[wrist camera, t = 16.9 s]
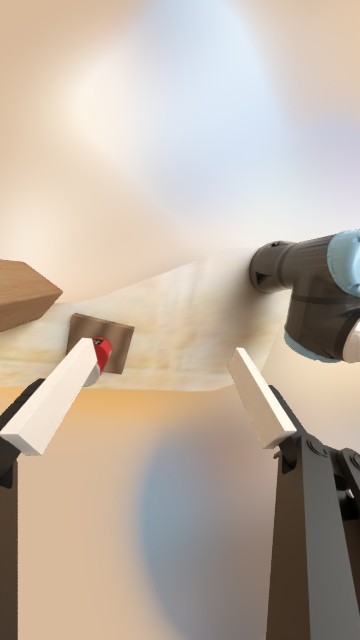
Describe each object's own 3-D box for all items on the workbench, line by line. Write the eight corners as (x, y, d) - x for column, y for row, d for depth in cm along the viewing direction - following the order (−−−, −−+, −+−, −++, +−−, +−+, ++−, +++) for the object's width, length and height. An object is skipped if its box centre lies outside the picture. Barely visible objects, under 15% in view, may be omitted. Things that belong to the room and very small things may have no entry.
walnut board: (134, 327, 42) (133, 329, 40) (122, 370, 46) (121, 374, 44) (75, 313, 38) (71, 315, 36) (68, 361, 42) (64, 365, 40)
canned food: (104, 331, 39) (86, 351, 29) (117, 353, 42) (106, 379, 32) (78, 341, 39) (50, 366, 28) (93, 363, 41) (73, 392, 31)
